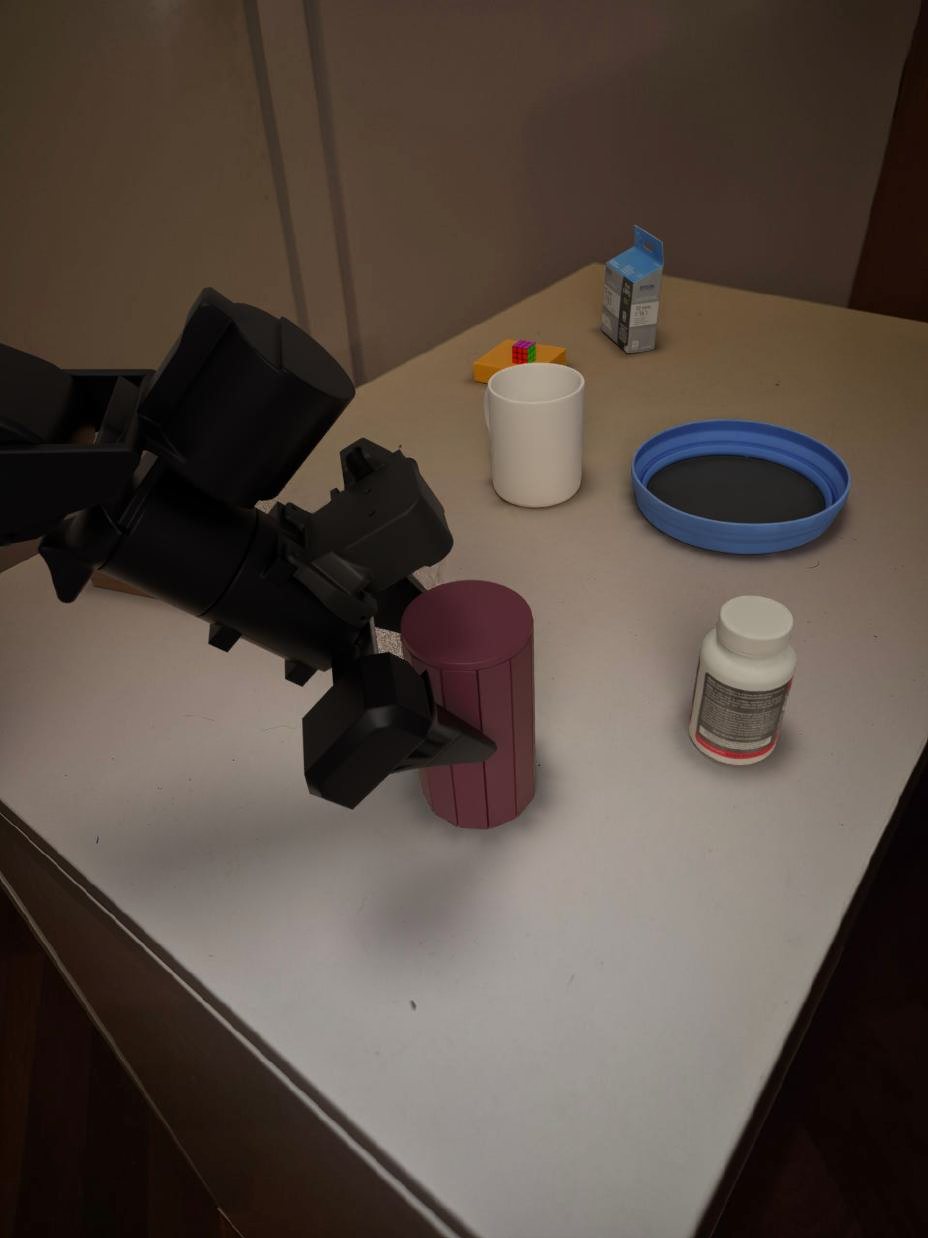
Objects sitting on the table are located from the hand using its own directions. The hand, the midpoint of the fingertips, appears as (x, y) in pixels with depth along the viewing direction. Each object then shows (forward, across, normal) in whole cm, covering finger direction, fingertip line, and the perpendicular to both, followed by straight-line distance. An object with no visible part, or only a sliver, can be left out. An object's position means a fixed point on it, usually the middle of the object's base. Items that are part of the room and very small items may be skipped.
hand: (475, 691), depth 46 cm
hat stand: (-10, +30, +20) cm, 37 cm away
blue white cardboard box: (+28, +65, -16) cm, 72 cm away
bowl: (+25, +26, -14) cm, 39 cm away
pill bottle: (+17, 0, -6) cm, 18 cm away
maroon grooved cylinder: (+5, 0, +6) cm, 8 cm away
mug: (+13, +35, -2) cm, 37 cm away
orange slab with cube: (+17, +59, -6) cm, 62 cm away
